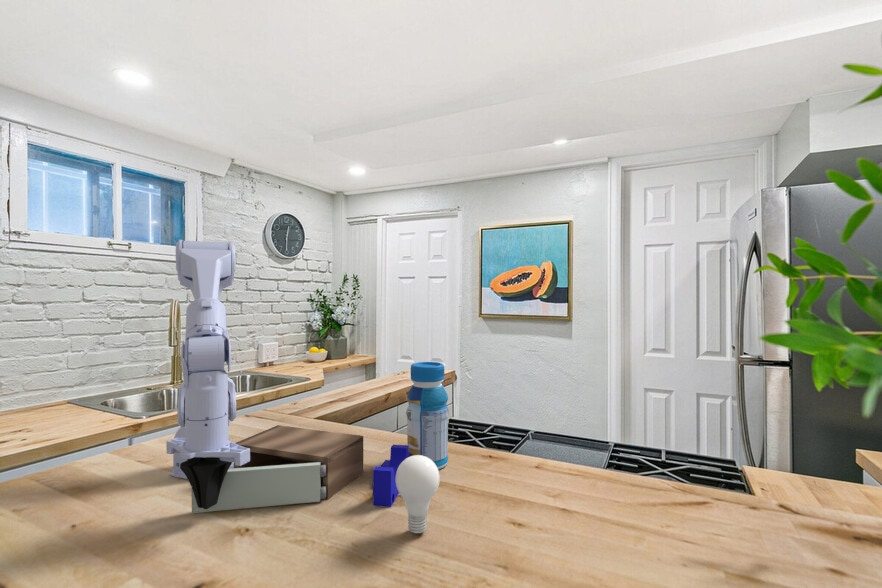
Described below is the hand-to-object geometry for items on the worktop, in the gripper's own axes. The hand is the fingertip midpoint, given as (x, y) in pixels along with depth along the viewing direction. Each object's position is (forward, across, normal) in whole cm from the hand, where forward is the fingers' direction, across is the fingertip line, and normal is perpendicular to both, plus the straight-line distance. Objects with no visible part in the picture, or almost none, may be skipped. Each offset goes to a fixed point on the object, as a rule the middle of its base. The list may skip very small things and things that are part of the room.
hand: (207, 505), depth 68 cm
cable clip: (+3, +21, +19) cm, 28 cm away
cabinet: (+2, +3, +18) cm, 18 cm away
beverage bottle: (+3, +23, +32) cm, 39 cm away
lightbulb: (+3, +31, +8) cm, 32 cm away
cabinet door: (+2, +4, +6) cm, 8 cm away
